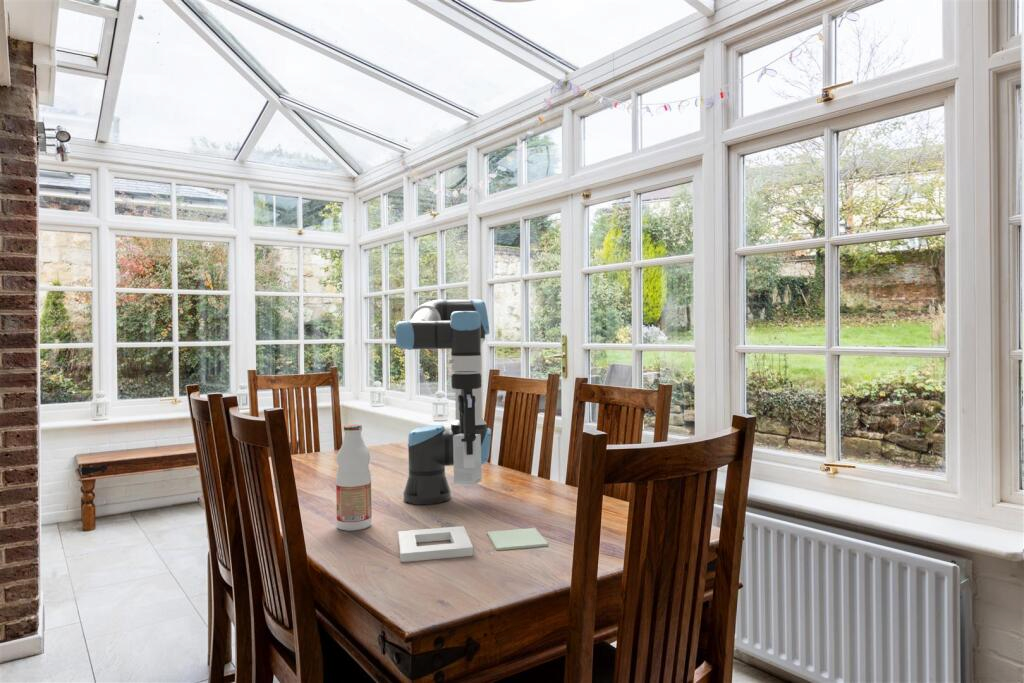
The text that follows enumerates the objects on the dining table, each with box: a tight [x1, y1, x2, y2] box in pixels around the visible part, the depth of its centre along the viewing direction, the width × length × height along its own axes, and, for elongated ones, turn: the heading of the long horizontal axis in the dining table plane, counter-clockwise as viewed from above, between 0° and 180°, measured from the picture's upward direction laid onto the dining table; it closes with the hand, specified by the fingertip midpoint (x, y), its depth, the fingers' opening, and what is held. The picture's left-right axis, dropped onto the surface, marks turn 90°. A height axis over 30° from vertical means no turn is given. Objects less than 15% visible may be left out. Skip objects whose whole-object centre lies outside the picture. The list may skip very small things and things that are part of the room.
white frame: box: [397, 525, 474, 563], centre depth 152 cm, size 17×17×2 cm
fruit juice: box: [335, 424, 373, 532], centre depth 170 cm, size 9×9×28 cm
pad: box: [486, 527, 549, 551], centre depth 157 cm, size 13×13×1 cm
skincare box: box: [453, 434, 483, 485], centre depth 154 cm, size 6×4×12 cm
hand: (467, 464), depth 154 cm, fingers closed on skincare box, 6 cm apart
